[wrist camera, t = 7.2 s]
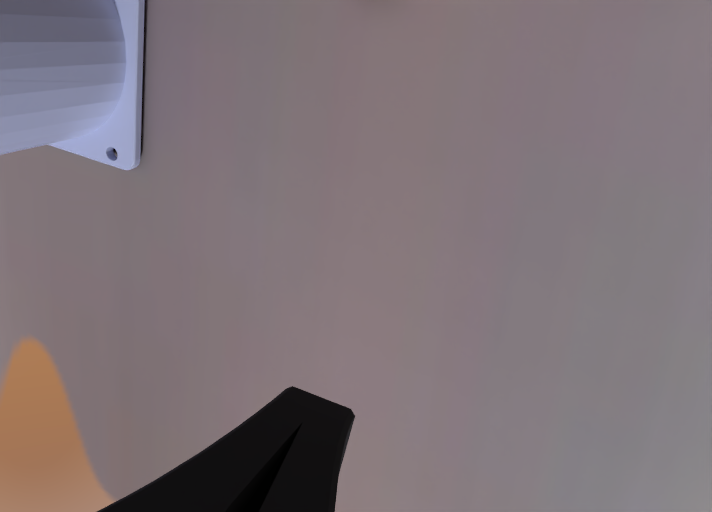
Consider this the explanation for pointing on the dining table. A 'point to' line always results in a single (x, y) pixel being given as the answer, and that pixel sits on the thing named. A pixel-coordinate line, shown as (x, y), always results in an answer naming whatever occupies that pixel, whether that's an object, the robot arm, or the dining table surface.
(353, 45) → the dining table surface
